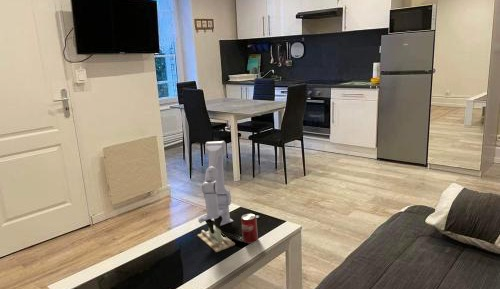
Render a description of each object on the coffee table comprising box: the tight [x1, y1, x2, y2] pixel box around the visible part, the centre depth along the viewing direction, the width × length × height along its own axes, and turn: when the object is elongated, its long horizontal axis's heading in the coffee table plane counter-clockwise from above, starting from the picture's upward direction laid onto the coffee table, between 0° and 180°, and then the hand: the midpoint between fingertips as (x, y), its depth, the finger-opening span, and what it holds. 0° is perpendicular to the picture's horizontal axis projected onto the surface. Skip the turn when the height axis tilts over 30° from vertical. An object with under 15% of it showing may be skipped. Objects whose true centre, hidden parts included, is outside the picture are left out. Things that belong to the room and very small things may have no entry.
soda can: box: [240, 213, 259, 244], centre depth 174 cm, size 7×7×12 cm
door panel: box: [207, 224, 222, 242], centre depth 176 cm, size 9×2×6 cm, turn 33°
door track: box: [197, 229, 236, 253], centre depth 177 cm, size 20×10×2 cm, turn 33°
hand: (214, 232), depth 176 cm, fingers open, 2 cm apart
